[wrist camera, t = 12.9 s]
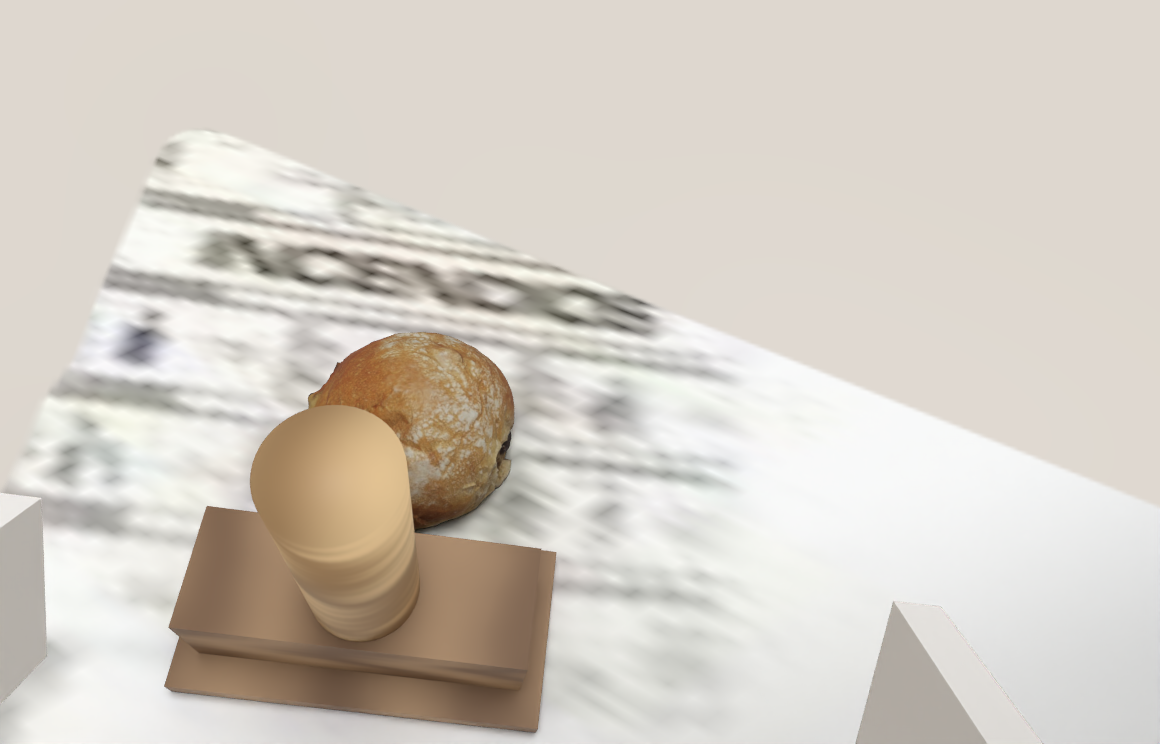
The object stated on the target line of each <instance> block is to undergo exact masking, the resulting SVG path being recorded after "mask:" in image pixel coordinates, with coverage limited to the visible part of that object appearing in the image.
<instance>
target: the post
mask: <svg viewBox="0 0 1160 744" xmlns="http://www.w3.org/2000/svg"><path fill="white" fill-rule="evenodd" d="M250 488H251V494H252V499H253V502H254V504H255V507H256V509H257V511H258V513H259V515H260V517H261V518H262V520H263V522H264V524H265V526H266V528H267V529H268V531H269V533H270V535H271V537H272V539H273V540H274V542H275V544H276V546H277V548H278V550H279V552H280V553H281V555H282V557H283V559H284V561H285V563H286V564H287V566H288V568H289V570H290V572H291V574H292V575H293V577H294V579H295V581H296V583H297V585H298V586H299V588H300V590H301V592H302V594H303V596H304V597H305V599H306V601H307V603H308V605H309V607H310V609H311V610H312V612H313V614H314V616H315V617H316V619H317V621H318V622H319V623H320V625H321V626H322V627H323V628H324V629H325V630H326V631H328V632H329V633H331V634H332V635H334V636H336V637H338V638H340V639H343V640H346V641H352V642H369V641H374V640H377V639H380V638H383V637H385V636H387V635H389V634H391V633H392V632H394V631H395V630H397V629H398V628H399V627H400V626H401V625H403V623H404V622H405V621H406V620H407V619H408V618H409V616H410V615H411V613H412V611H413V610H414V608H415V606H416V603H417V600H418V596H419V591H420V576H419V567H418V558H417V549H416V540H415V531H414V522H413V513H412V504H411V495H410V486H409V477H408V468H407V461H406V455H405V452H404V449H403V446H402V444H401V442H400V440H399V438H398V437H397V435H396V434H395V432H394V431H393V430H392V429H391V428H390V427H389V426H388V425H387V424H386V423H385V422H384V421H383V420H381V419H380V418H378V417H377V416H375V415H373V414H372V413H369V412H367V411H365V410H362V409H359V408H356V407H351V406H345V405H325V406H319V407H314V408H311V409H307V410H304V411H302V412H299V413H297V414H295V415H293V416H291V417H289V418H288V419H286V420H285V421H283V422H282V423H281V424H279V425H278V426H277V427H276V428H275V429H274V430H272V432H271V433H270V434H269V435H268V436H267V437H266V438H265V440H264V441H263V443H262V444H261V446H260V447H259V449H258V451H257V453H256V455H255V458H254V461H253V464H252V469H251V475H250Z"/></svg>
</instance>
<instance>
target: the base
mask: <svg viewBox="0 0 1160 744" xmlns="http://www.w3.org/2000/svg"><path fill="white" fill-rule="evenodd" d="M415 540H416V549H417V558H418V567H419V576H420V591H419V596H418V600H417V603H416V606H415V608H414V610H413V611H412V613H411V615H410V616H409V618H408V619H407V620H406V621H405V622H404V623H403V625H401V626H400V627H399V628H398V629H397V630H395V631H394V632H392V633H391V634H389V635H387V636H385V637H383V638H380V639H377V640H374V641H369V642H352V641H346V640H343V639H340V638H338V637H336V636H334V635H332V634H331V633H329V632H328V631H326V630H325V629H324V628H323V627H322V626H321V625H320V623H319V622H318V621H317V619H316V617H315V616H314V614H313V612H312V610H311V609H310V607H309V605H308V603H307V601H306V599H305V597H304V596H303V594H302V592H301V590H300V588H299V586H298V585H297V583H296V581H295V579H294V577H293V575H292V574H291V572H290V570H289V568H288V566H287V564H286V563H285V561H284V559H283V557H282V555H281V553H280V552H279V550H278V548H277V546H276V544H275V542H274V540H273V539H272V537H271V535H270V533H269V531H268V529H267V528H266V526H265V524H264V522H263V520H262V518H261V517H260V515H259V513H258V512H250V511H242V510H234V509H226V508H219V507H211V506H207V507H206V510H205V513H204V516H203V520H202V523H201V526H200V529H199V532H198V536H197V539H196V542H195V545H194V548H193V551H192V555H191V558H190V561H189V564H188V567H187V570H186V574H185V577H184V580H183V583H182V586H181V590H180V593H179V596H178V599H177V602H176V605H175V609H174V612H173V615H172V618H171V621H170V624H169V628H170V629H171V630H172V631H173V632H174V633H176V634H177V635H178V636H179V640H178V643H177V646H176V650H175V653H174V656H173V659H172V663H171V666H170V669H169V672H168V676H167V679H166V682H165V685H164V687H166V688H168V689H169V690H171V691H175V692H183V693H192V694H201V695H210V696H219V697H227V698H236V699H245V700H254V701H262V702H271V703H280V704H289V705H298V706H306V707H315V708H324V709H333V710H342V711H350V712H359V713H368V714H377V715H385V716H394V717H403V718H412V719H421V720H429V721H438V722H447V723H456V724H465V725H473V726H482V727H491V728H500V729H509V730H517V731H526V732H536V731H537V729H538V721H539V712H540V702H541V693H542V683H543V674H544V664H545V655H546V645H547V636H548V626H549V617H550V607H551V598H552V589H553V579H554V570H555V560H556V552H551V551H543V550H541V549H538V548H531V547H523V546H515V545H507V544H499V543H492V542H484V541H476V540H468V539H460V538H453V537H445V536H437V535H429V534H421V533H415Z"/></svg>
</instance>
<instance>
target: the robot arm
mask: <svg viewBox="0 0 1160 744" xmlns="http://www.w3.org/2000/svg"><path fill="white" fill-rule="evenodd" d="M46 657H47V642H46V612H45V582H44V551H43V521H42V498H38V497H30V496H21V495H13V494H5V493H0V704H1V703H2V702H3V701H4V700H5V699H6V698H7V697H8V696H9V695H10V694H11V693H12V692H13V691H14V690H15V689H16V688H17V687H18V686H19V685H20V684H21V683H22V682H23V681H24V680H25V679H26V678H27V677H28V675H29V674H30V673H31V672H32V671H33V670H34V669H35V668H36V667H37V666H38V665H39V664H40V663H41V662H42V661H43V660H44V659H45V658H46ZM856 744H1043V743H1042V742H1041V740H1040V739H1039V738H1038V736H1037V735H1036V734H1035V732H1034V731H1033V730H1032V728H1031V727H1030V726H1029V724H1028V723H1027V721H1026V720H1025V719H1024V717H1023V716H1022V715H1021V713H1020V712H1019V711H1018V709H1017V708H1016V707H1015V705H1014V704H1013V703H1012V701H1011V700H1010V699H1009V697H1008V696H1007V695H1006V693H1005V692H1004V691H1003V689H1002V688H1001V687H1000V685H999V684H998V683H997V681H996V680H995V679H994V677H993V676H992V675H991V673H990V672H989V671H988V669H987V668H986V666H985V665H984V664H983V662H982V661H981V660H980V658H979V657H978V656H977V654H976V653H975V652H974V650H973V649H972V648H971V646H970V645H969V644H968V642H967V641H966V640H965V638H964V637H963V636H962V634H961V633H960V632H959V630H958V629H957V628H956V626H955V625H954V624H953V622H952V621H951V620H950V618H949V617H948V615H947V614H946V613H945V611H944V610H943V609H942V607H939V606H931V605H923V604H915V603H906V602H898V601H893V605H892V608H891V612H890V616H889V620H888V623H887V627H886V631H885V635H884V638H883V642H882V646H881V650H880V653H879V657H878V661H877V665H876V669H875V672H874V676H873V680H872V684H871V687H870V691H869V695H868V699H867V702H866V706H865V710H864V714H863V717H862V721H861V725H860V729H859V733H858V736H857V740H856Z"/></svg>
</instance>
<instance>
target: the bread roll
mask: <svg viewBox="0 0 1160 744" xmlns="http://www.w3.org/2000/svg"><path fill="white" fill-rule="evenodd" d="M308 402H309V409H311V408H314V407H319V406H325V405H345V406H351V407H356V408H359V409H362V410H365V411H367V412H369V413H372V414H373V415H375V416H377V417H378V418H380V419H381V420H383V421H384V422H385V423H386V424H387V425H388V426H389V427H390V428H391V429H392V430H393V431H394V432H395V434H396V435H397V437H398V438H399V440H400V442H401V444H402V446H403V449H404V452H405V455H406V461H407V468H408V477H409V486H410V495H411V504H412V513H413V522H414V530H416V529H421V528H426V527H430V526H437V525H438V524H439V523H442V522H444V521H447V520H449V519H453V518H456V517H459V516H462V515H464V514H466V513H468V512H470V511H472V510H474V509H475V508H477V506H478V505H479V504H480V503H481V502H482V501H483V500H484V499H485V498H486V497H487V496H488V495H489V494H490V493H492V492H493V491H494V490H495V488H497V487H499V486H500V485H501V484H502V482H503V481H504V479H505V478H506V477H507V476H508V473H509V471H510V466H511V460H508V459H504V458H505V455H506V451H507V449H508V448H509V446H510V441H511V432H510V430H511V429H512V427H513V424H514V402H513V396H512V392H511V389H510V387H509V384H508V382H507V380H506V378H505V377H504V375H503V373H502V372H501V370H500V369H499V368H498V367H497V366H496V364H494V363H493V362H492V361H491V360H490V359H489V358H488V357H486V356H485V355H483V354H482V353H481V352H479V351H478V350H477V349H476V348H474V347H472V346H470V345H467V344H465V343H464V342H462V341H460V340H458V339H455V338H453V337H450V336H446V335H442V334H437V333H426V332H418V333H398V334H394V335H391V336H389V337H386V338H383V339H381V340H377V341H374V342H371V343H370V344H368V345H367V346H365V347H363V348H361V349H359V350H357V351H355V352H353V353H351V354H350V355H349V356H348V357H347V358H345V359H344V361H343V362H341V363H338V362H337V365H336V367H335V369H334V372H333V373H332V374H331V375H330V378H329V379H328V381H327V383H326V384H324V385H323V386H322V388H321V389H320V390H319V391H317V392H315V393H311V394H310V395H309V397H308Z"/></svg>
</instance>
